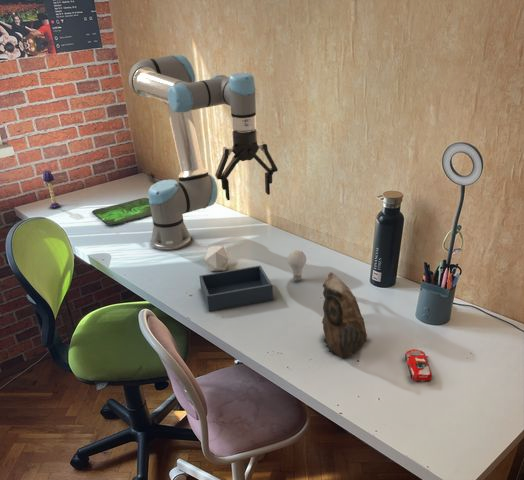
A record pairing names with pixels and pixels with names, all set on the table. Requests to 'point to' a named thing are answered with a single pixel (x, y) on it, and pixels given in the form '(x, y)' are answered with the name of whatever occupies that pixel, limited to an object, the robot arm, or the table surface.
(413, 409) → the table surface
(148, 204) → the mouse mat
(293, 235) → the table surface
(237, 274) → the tote
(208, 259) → the die
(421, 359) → the race car
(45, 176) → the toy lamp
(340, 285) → the owl
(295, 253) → the lightbulb
